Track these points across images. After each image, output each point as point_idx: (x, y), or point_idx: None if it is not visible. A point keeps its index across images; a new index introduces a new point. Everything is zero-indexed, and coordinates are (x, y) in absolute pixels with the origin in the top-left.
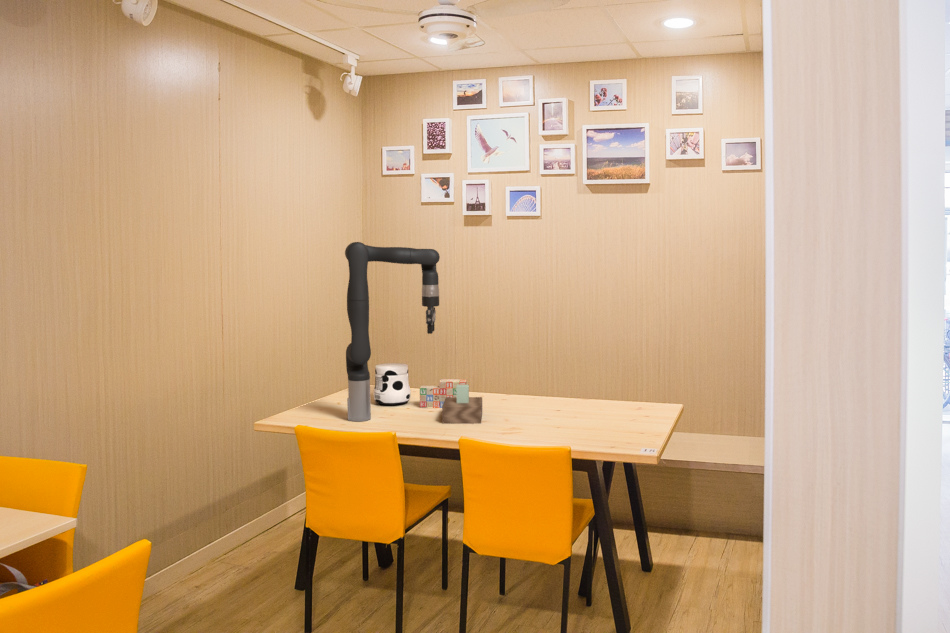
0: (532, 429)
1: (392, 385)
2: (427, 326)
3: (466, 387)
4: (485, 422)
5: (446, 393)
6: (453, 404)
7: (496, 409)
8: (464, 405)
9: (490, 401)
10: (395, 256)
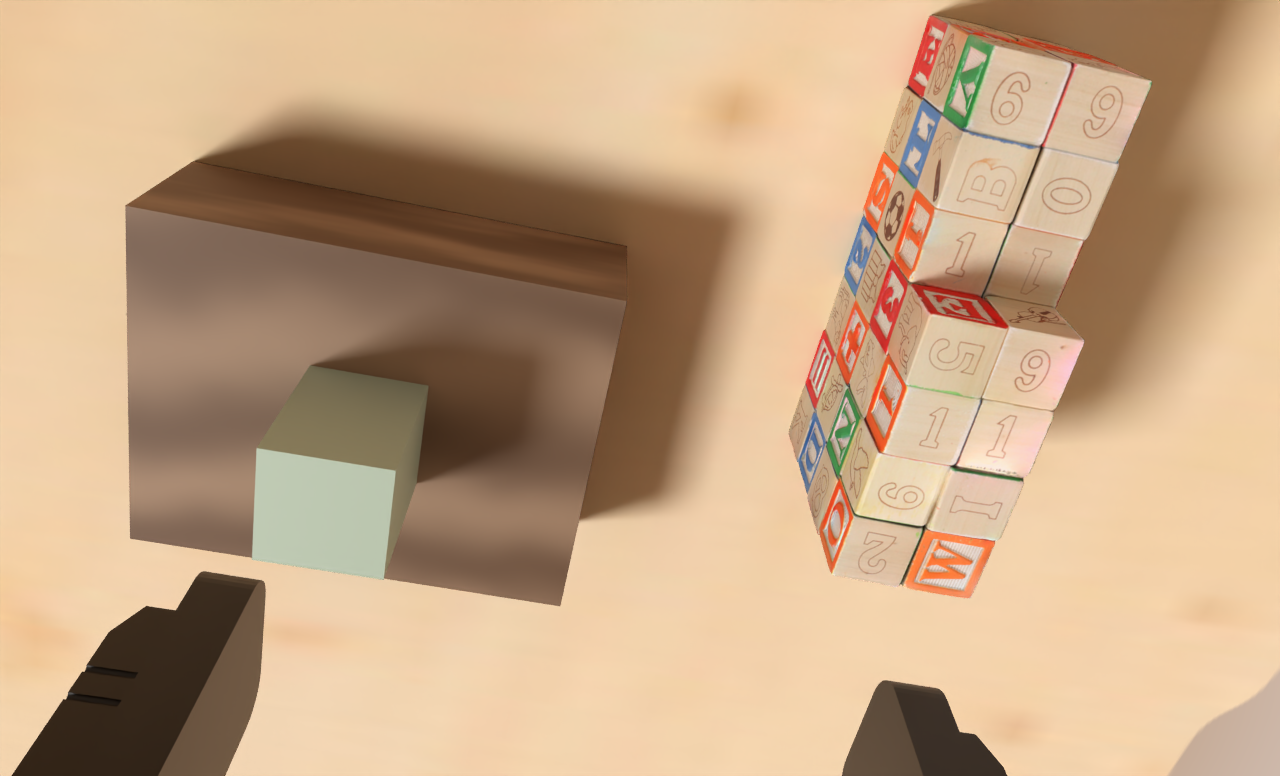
0: (6, 725)
1: None
2: (84, 761)
3: (255, 538)
4: None
5: (872, 331)
6: (240, 328)
7: (668, 629)
8: (189, 418)
9: (976, 636)
10: None
